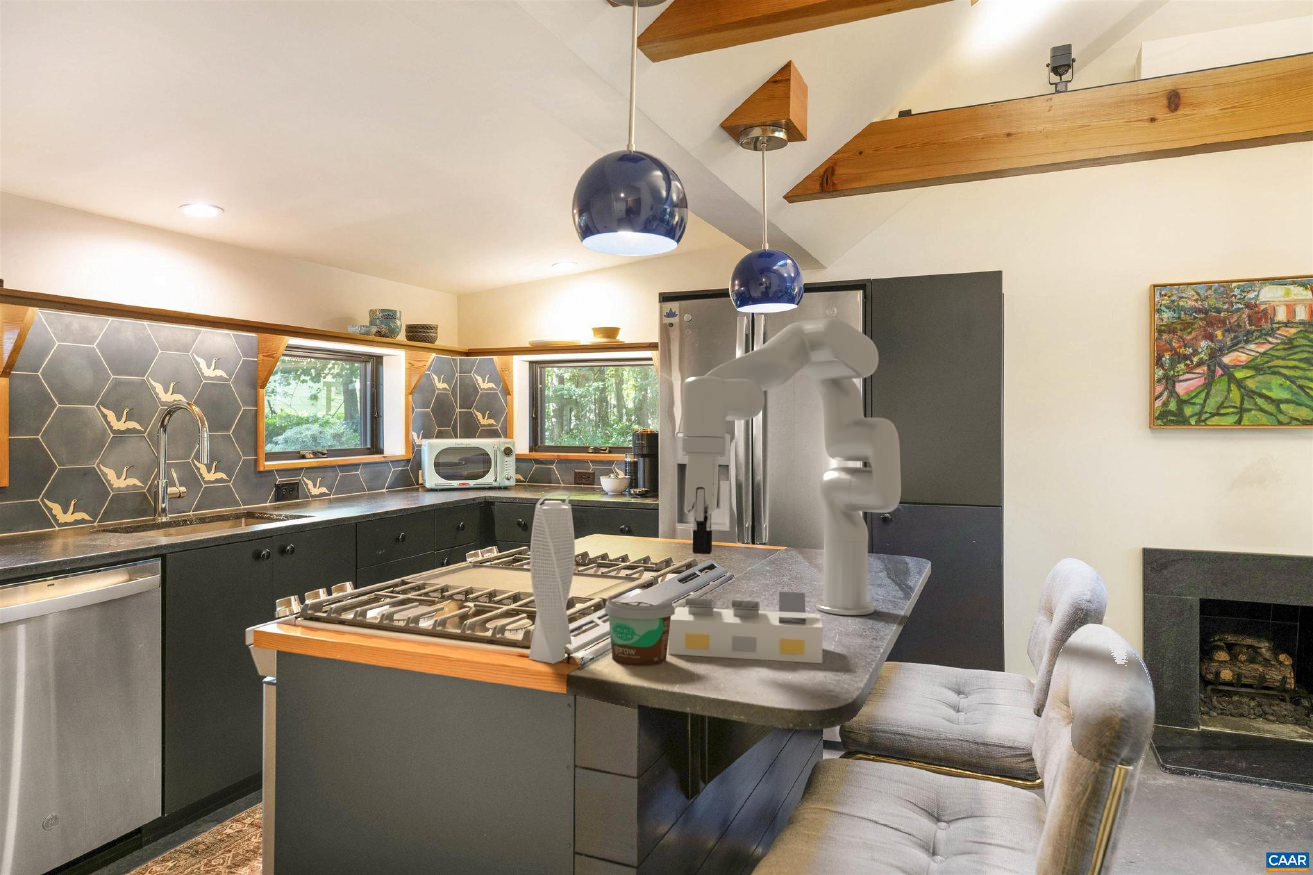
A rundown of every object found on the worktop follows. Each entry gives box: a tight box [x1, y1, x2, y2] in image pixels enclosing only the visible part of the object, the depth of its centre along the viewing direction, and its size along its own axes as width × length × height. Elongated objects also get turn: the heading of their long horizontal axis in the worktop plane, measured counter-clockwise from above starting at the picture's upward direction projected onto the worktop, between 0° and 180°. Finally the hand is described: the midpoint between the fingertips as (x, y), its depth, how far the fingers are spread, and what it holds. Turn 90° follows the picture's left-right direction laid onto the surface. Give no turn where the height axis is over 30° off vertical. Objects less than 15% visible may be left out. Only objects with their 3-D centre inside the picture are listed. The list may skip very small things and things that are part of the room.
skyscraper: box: [528, 490, 576, 665], centre depth 128 cm, size 8×8×28 cm
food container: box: [604, 596, 675, 667], centre depth 125 cm, size 12×6×10 cm, turn 70°
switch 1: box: [685, 597, 717, 609], centre depth 135 cm, size 8×4×1 cm, turn 171°
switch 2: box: [731, 599, 761, 611], centre depth 133 cm, size 8×4×1 cm, turn 171°
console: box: [668, 606, 824, 664], centre depth 133 cm, size 10×26×7 cm, turn 80°
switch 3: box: [778, 591, 807, 624], centre depth 132 cm, size 8×4×1 cm, turn 170°
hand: (702, 553), depth 131 cm, fingers closed
